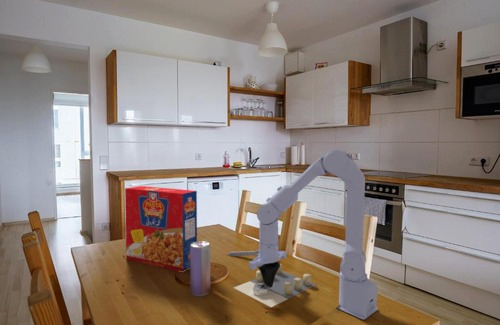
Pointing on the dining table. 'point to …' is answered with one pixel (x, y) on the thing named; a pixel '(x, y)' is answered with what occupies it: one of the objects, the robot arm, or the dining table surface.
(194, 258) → the beverage can
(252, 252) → the caliper
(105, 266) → the dining table surface
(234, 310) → the dining table surface
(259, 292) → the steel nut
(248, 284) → the board
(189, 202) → the pasta box
